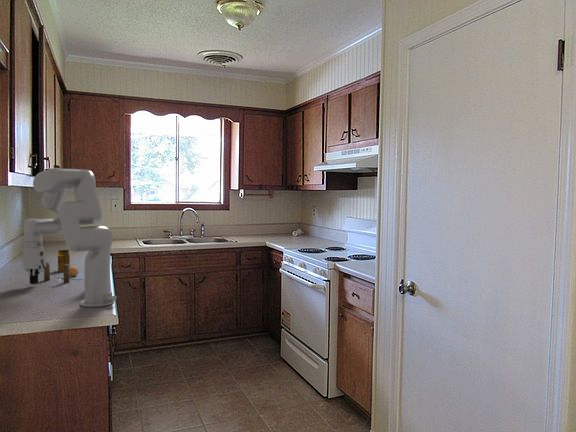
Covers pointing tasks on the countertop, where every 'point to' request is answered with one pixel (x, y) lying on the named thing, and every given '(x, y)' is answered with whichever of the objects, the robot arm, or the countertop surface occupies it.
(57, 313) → the countertop surface
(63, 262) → the condiment
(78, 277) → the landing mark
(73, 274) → the ball
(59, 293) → the countertop surface
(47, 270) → the left post
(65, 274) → the right post
